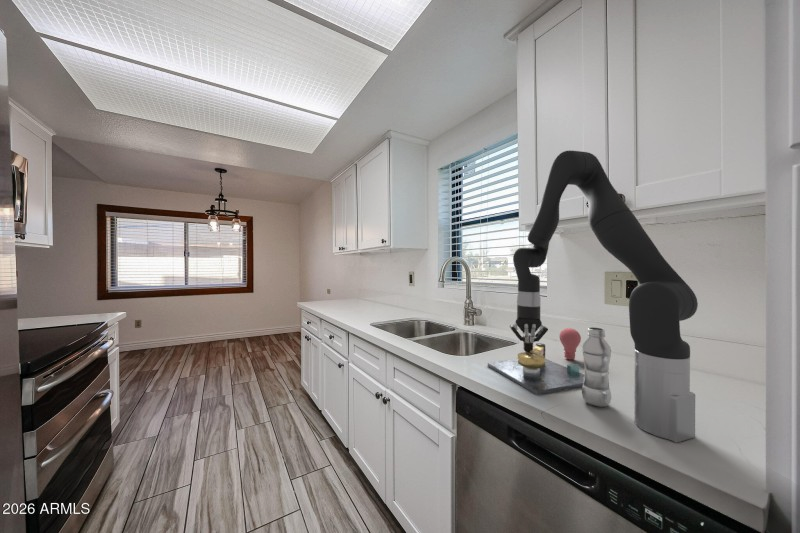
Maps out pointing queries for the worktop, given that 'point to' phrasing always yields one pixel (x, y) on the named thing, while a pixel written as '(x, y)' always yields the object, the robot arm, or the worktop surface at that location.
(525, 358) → the gold long piece
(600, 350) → the plastic bottle
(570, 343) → the light bulb
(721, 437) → the worktop surface
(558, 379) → the base
